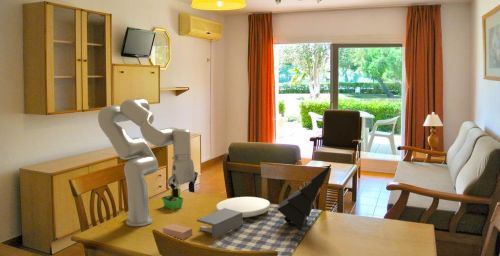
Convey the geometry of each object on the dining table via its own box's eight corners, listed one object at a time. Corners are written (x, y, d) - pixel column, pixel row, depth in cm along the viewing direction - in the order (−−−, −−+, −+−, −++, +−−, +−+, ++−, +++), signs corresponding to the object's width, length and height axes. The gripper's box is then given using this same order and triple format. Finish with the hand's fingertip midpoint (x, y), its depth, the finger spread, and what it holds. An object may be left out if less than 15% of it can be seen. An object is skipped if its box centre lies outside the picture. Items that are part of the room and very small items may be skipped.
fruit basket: (161, 206, 232) (160, 186, 230) (174, 202, 238) (174, 183, 236) (172, 211, 223) (171, 190, 222) (186, 207, 229) (185, 187, 228)
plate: (210, 211, 208) (219, 195, 234) (212, 224, 209) (221, 207, 235) (267, 206, 205) (270, 191, 231) (269, 219, 206) (271, 202, 232)
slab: (163, 235, 192) (162, 227, 192) (172, 230, 197) (172, 223, 197) (183, 240, 186) (183, 232, 185) (192, 235, 191) (192, 228, 190)
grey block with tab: (194, 232, 194) (193, 218, 193) (221, 220, 209) (221, 207, 208) (215, 238, 186) (215, 224, 185) (242, 225, 201) (242, 212, 200)
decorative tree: (297, 236, 196) (343, 178, 186) (271, 216, 198) (315, 158, 188) (302, 224, 210) (345, 170, 200) (278, 206, 212) (319, 151, 202)
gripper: (172, 161, 180) (174, 200, 182) (202, 155, 193) (203, 191, 195) (161, 159, 184) (163, 197, 187) (190, 153, 198) (192, 188, 200)
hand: (183, 194), depth 191 cm, fingers open, 9 cm apart
